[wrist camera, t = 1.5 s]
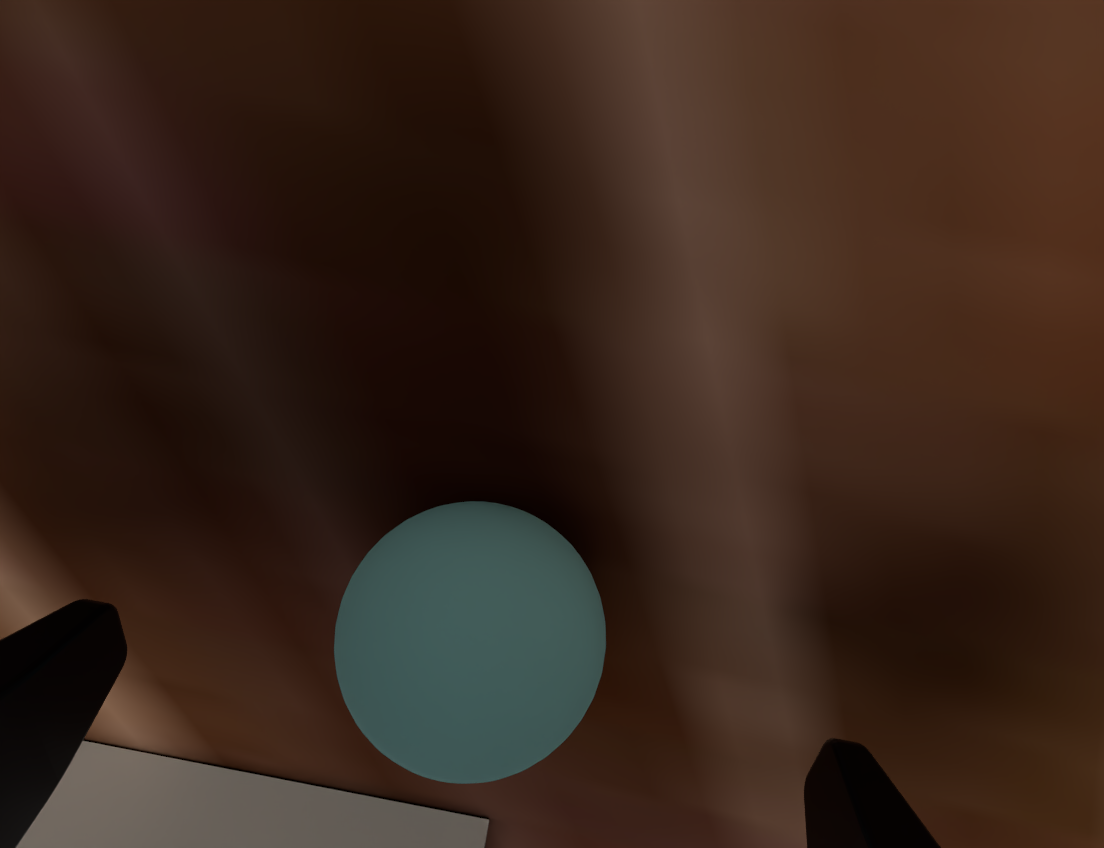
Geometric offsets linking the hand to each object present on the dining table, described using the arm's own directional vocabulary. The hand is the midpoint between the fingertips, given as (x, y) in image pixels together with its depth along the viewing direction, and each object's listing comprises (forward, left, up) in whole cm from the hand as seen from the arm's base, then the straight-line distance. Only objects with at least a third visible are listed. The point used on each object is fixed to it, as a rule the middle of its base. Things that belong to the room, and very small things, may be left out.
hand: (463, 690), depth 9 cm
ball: (0, 0, -3) cm, 3 cm away
